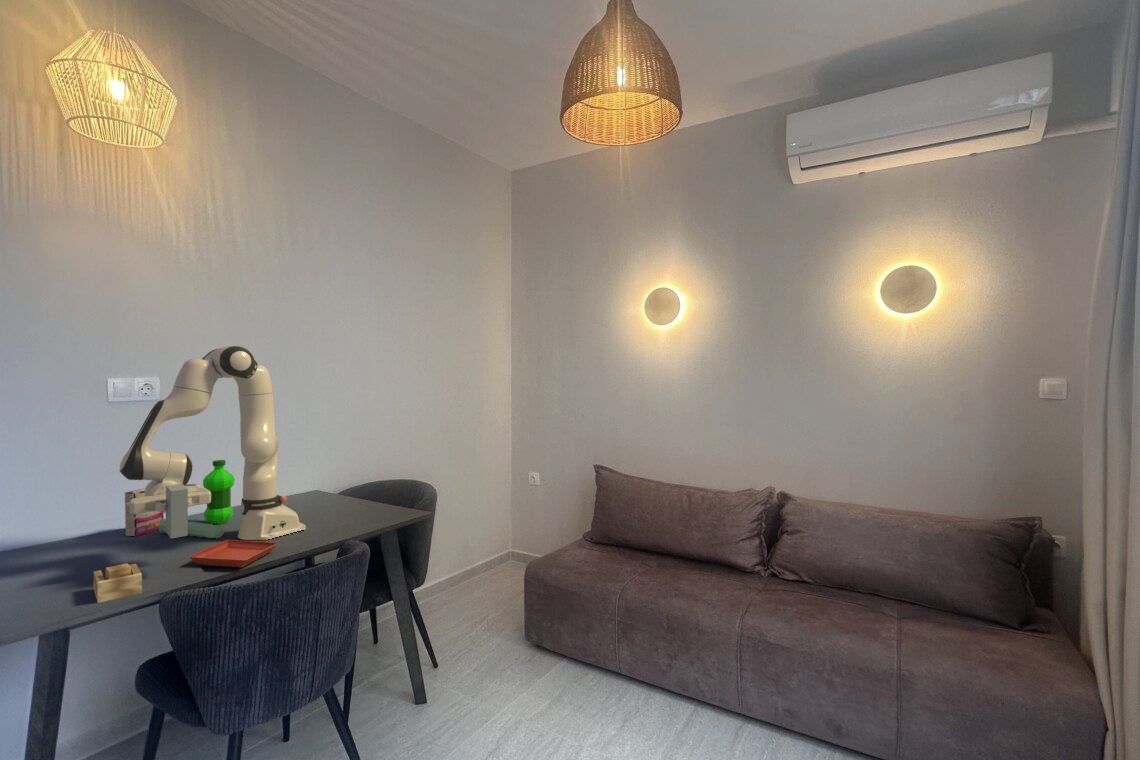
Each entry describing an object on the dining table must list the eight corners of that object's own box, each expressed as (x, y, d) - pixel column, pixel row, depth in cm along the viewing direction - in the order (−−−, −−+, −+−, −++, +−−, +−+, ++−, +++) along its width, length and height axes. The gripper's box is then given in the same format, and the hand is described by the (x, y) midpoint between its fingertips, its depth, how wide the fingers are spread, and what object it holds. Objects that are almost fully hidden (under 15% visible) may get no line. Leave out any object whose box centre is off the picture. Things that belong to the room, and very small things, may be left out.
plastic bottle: (214, 518, 219) (215, 458, 218) (239, 519, 218) (240, 459, 218) (196, 526, 209) (197, 462, 208) (222, 526, 208) (223, 463, 208)
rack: (135, 584, 152) (135, 563, 152) (141, 596, 144) (141, 574, 144) (93, 593, 146) (93, 571, 146) (97, 606, 138) (97, 583, 138)
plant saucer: (278, 551, 181) (278, 541, 181) (244, 570, 163) (244, 559, 163) (226, 549, 182) (226, 539, 182) (187, 567, 164) (187, 556, 164)
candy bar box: (153, 527, 206) (153, 485, 205) (164, 528, 205) (164, 486, 204) (123, 536, 195) (124, 491, 194) (135, 537, 194) (135, 492, 193)
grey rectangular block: (181, 528, 163) (182, 483, 163) (187, 535, 158) (187, 489, 157) (165, 531, 160) (165, 485, 160) (170, 538, 155) (171, 491, 154)
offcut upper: (127, 574, 147) (127, 563, 147) (130, 577, 144) (130, 566, 144) (105, 578, 143) (105, 567, 143) (109, 582, 141) (109, 571, 141)
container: (224, 521, 196) (170, 514, 201) (210, 531, 190) (155, 524, 196) (229, 533, 198) (175, 527, 204) (216, 544, 193) (161, 537, 198)
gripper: (124, 493, 161) (131, 501, 152) (204, 483, 176) (215, 490, 166) (125, 513, 161) (131, 523, 152) (204, 502, 176) (215, 510, 167)
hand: (176, 506), depth 159 cm, fingers closed on grey rectangular block, 4 cm apart
